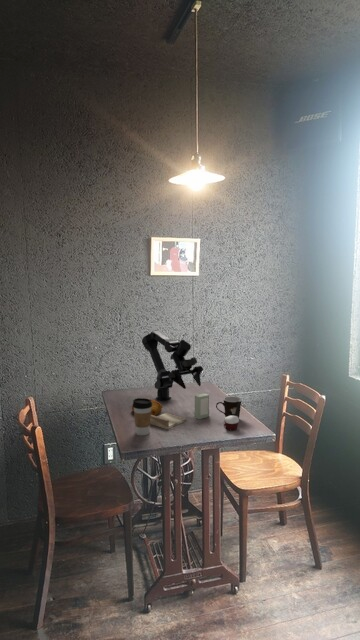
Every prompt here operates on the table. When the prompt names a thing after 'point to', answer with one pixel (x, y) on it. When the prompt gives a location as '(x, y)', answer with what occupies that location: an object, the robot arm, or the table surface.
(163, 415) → the ledge board
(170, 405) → the table surface
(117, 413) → the table surface
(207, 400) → the sage green box
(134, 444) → the table surface
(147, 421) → the coffee cup
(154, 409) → the croissant
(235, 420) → the cocoa
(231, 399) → the coffee mug
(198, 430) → the table surface
